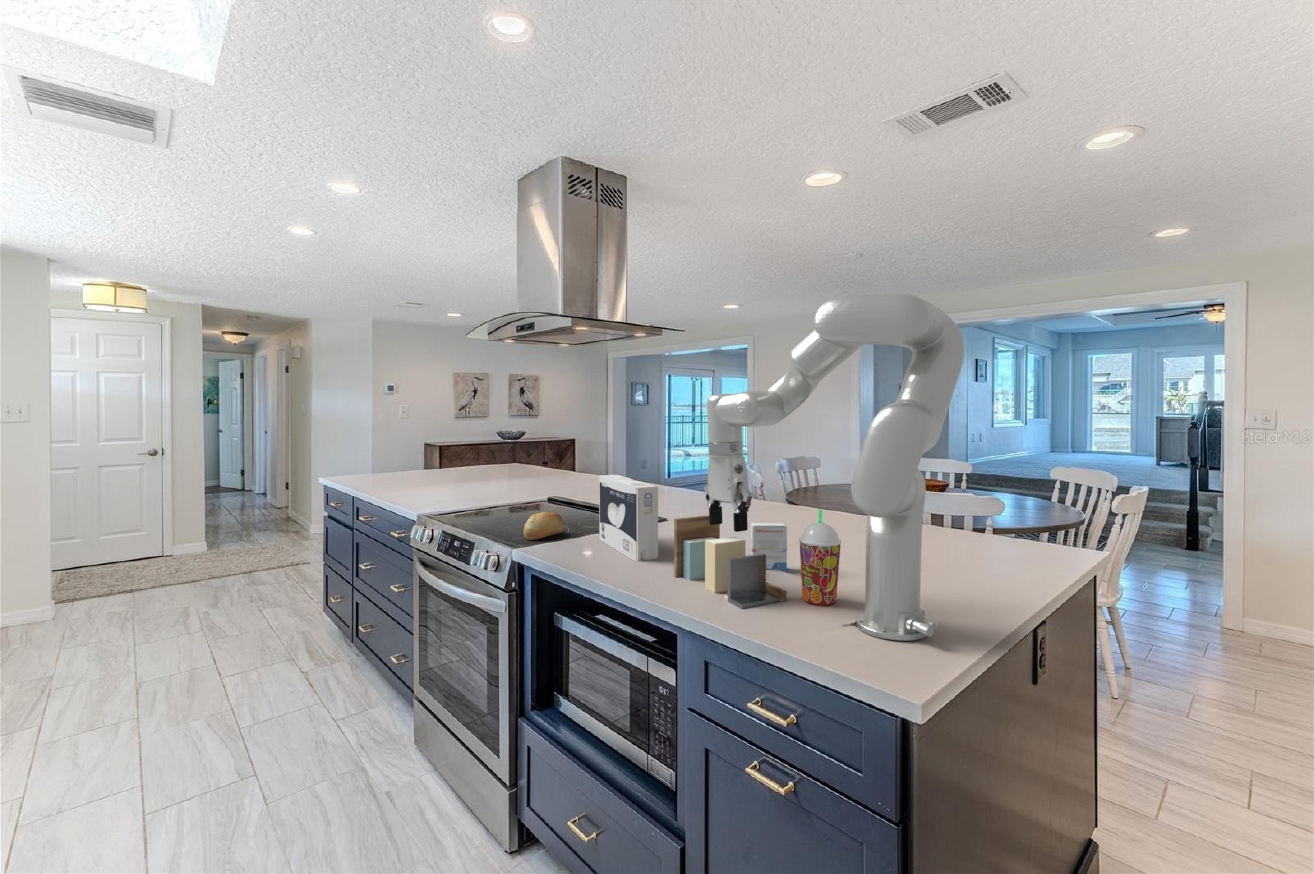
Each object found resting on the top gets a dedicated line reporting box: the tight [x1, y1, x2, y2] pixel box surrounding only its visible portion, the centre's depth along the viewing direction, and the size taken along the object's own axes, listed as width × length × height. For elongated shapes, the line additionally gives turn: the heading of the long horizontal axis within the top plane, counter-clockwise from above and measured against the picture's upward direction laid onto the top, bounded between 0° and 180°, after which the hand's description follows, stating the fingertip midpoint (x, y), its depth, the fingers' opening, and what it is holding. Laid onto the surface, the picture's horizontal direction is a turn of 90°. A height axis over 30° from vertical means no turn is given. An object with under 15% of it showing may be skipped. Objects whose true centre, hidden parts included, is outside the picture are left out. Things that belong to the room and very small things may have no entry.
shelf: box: [673, 514, 787, 602], centre depth 132 cm, size 27×12×15 cm, turn 27°
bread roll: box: [523, 511, 565, 541], centre depth 188 cm, size 10×15×8 cm, turn 145°
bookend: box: [727, 554, 779, 610], centre depth 122 cm, size 5×9×9 cm, turn 117°
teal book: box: [682, 537, 716, 581], centre depth 141 cm, size 3×8×9 cm, turn 117°
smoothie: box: [798, 509, 842, 607], centre depth 123 cm, size 8×8×20 cm
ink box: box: [750, 522, 788, 573], centre depth 149 cm, size 9×5×12 cm, turn 84°
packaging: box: [598, 474, 659, 563], centre depth 170 cm, size 30×6×20 cm, turn 25°
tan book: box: [704, 536, 746, 594], centre depth 132 cm, size 4×8×11 cm, turn 117°
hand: (727, 527), depth 131 cm, fingers open, 9 cm apart
